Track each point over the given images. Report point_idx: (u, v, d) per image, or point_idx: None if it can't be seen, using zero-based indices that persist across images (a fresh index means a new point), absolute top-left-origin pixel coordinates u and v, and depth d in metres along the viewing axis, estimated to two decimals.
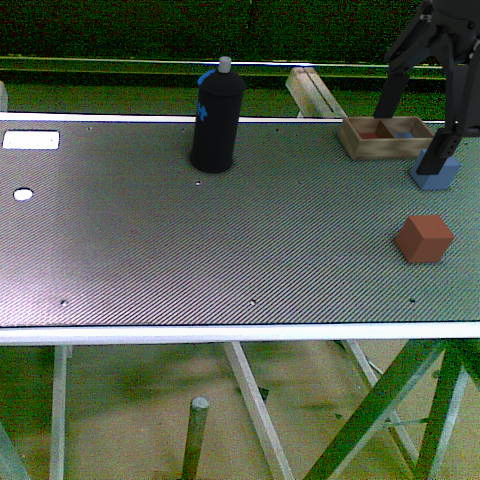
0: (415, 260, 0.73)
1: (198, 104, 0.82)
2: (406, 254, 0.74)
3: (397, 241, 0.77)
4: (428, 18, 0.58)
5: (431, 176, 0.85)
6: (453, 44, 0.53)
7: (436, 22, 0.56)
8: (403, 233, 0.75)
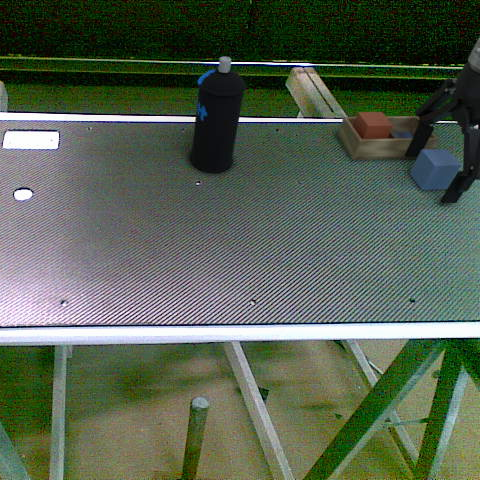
0: None
1: (198, 104, 0.82)
2: None
3: None
4: (450, 91, 0.81)
5: (431, 176, 0.85)
6: (469, 114, 0.76)
7: (457, 96, 0.79)
8: (355, 127, 0.95)
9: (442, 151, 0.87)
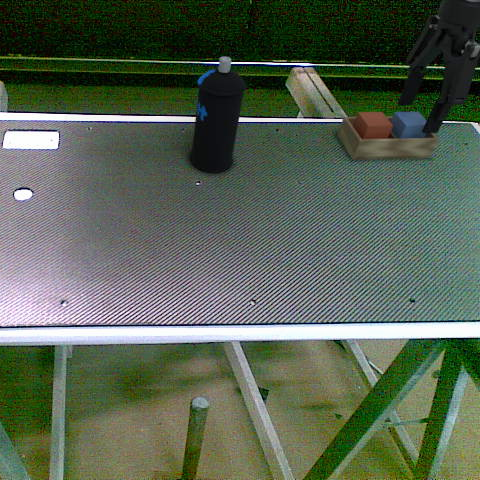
0: None
1: (198, 104, 0.82)
2: None
3: None
4: (435, 26, 0.85)
5: (403, 136, 0.92)
6: (452, 41, 0.80)
7: (441, 26, 0.83)
8: (355, 127, 0.95)
9: (413, 113, 0.94)
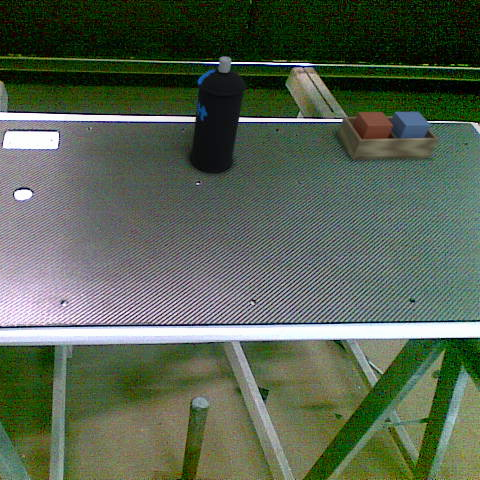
0: None
1: (198, 104, 0.82)
2: None
3: None
4: None
5: (403, 136, 0.92)
6: None
7: None
8: (355, 127, 0.95)
9: (413, 113, 0.94)
